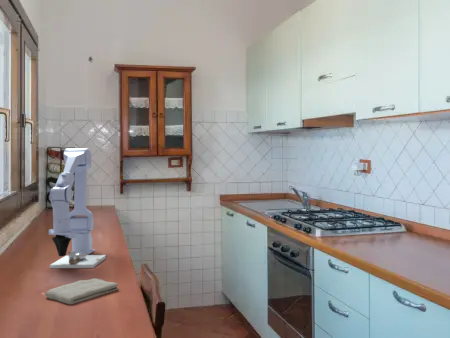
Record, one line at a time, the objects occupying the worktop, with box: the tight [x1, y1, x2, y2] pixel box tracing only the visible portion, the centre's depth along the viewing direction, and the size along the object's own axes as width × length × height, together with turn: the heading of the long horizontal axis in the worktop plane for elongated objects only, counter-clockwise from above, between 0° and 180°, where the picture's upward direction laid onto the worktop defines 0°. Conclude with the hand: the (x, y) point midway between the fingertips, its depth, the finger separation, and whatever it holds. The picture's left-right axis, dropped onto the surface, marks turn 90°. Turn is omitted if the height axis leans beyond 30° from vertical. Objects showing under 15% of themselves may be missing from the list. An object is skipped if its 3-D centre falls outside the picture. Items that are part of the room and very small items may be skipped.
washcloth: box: [45, 278, 119, 305], centre depth 136 cm, size 12×18×3 cm, turn 144°
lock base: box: [49, 254, 107, 269], centre depth 175 cm, size 16×16×1 cm
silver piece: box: [68, 250, 86, 264], centre depth 173 cm, size 11×5×4 cm, turn 178°
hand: (62, 255), depth 170 cm, fingers closed
